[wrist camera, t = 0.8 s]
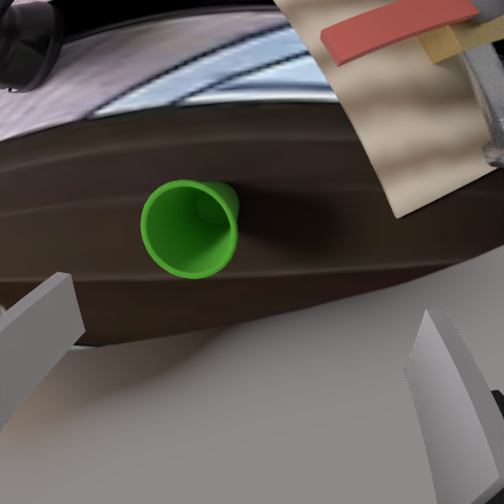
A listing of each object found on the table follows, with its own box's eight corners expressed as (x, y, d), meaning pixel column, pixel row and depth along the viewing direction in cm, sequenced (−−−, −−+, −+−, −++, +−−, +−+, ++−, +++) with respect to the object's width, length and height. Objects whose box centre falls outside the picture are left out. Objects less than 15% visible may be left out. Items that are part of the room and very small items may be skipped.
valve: (335, -68, 21) (340, -104, 14) (388, -80, 19) (400, -112, 11) (474, 161, 29) (511, 172, 22) (518, 139, 27) (557, 146, 19)
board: (240, -40, 26) (238, -44, 25) (388, -87, 19) (390, -91, 18) (394, 215, 35) (397, 218, 34) (527, 148, 28) (532, 149, 27)
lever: (474, -20, 15) (489, -31, 12) (499, 19, 16) (516, 12, 13) (314, 31, 21) (315, 18, 18) (343, 75, 22) (348, 68, 19)
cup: (269, 183, 36) (254, 207, 26) (238, 251, 39) (215, 295, 29) (197, 152, 36) (156, 163, 26) (172, 220, 39) (130, 253, 29)
